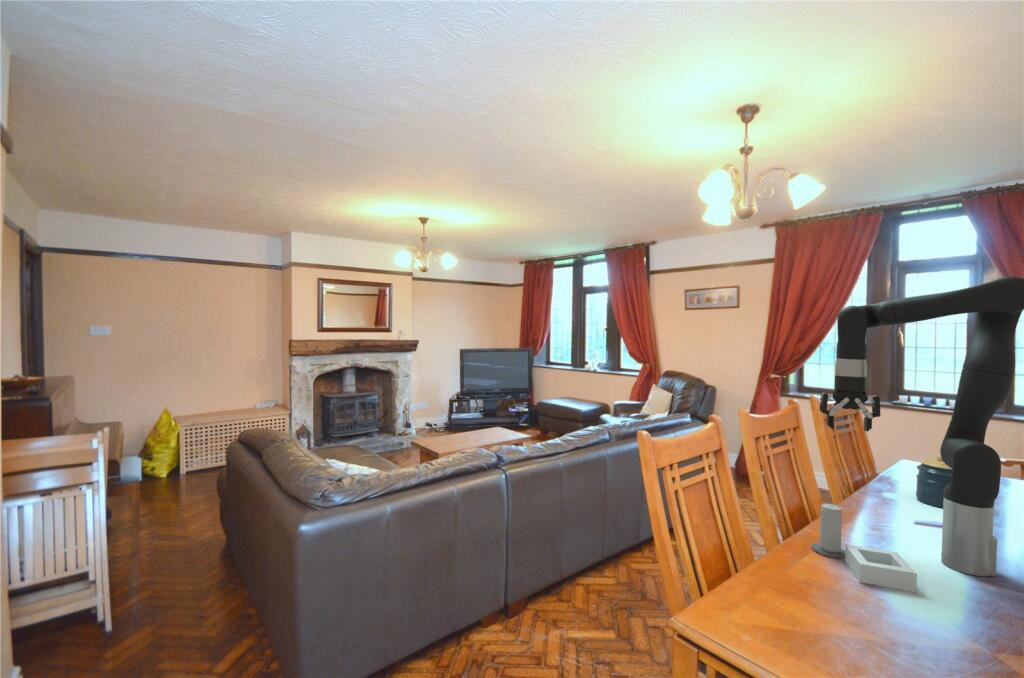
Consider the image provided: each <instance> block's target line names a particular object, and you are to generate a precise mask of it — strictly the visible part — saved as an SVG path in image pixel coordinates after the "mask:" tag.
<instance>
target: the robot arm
mask: <svg viewBox="0 0 1024 678" xmlns="http://www.w3.org/2000/svg"><path fill="white" fill-rule="evenodd" d="M1023 311H1024V278H1023V277H1021V276H1011V275H1009V276H1003V277H999V278H997V279H994V280H991V281H989V282H985V283H982V284H981V283H980V284H977V285H973V286H970V287H966V288H962V289H956V290H951V291H945V292H937V293H931V294H923V295H917V296H916V295H915V296H908V297H902V298H895V299H889V300H884V301H881V302H878V303H872V304H871V303H869V304H863V305H849V306H845V307H843V308H842V309H841V310H840V311H839V312H838V315H837V318H836V319H837V321H836V323H837V343H836V351H835V352H836V356H835V357H836V359H835V363H834V364H835V365H834V383H833V385H834V386H833V387H834V389H833V393H827V392H821V394H820V402H819V412H821V413H822V414H825V415H826V424H827V427H828V428H830V429H831V430H835V416H834V415H835V414H837V412H838V411H840V410H841V409H842V410H843V409H844V410H856V411H857V410H859V411H860V412H861V413H862V415H863V431H865V432H870V430H872V429H873V419H874V418H879V417H881V414H882V413H881V398H880V396H878V395H875V394H873V395H867V380H868V378H867V377H868V376H867V375H868V366H867V343H866V339H867V330H868V329H869V328H874V327H880V326H881V327H882V326H895V325H902V324H909V323H916V322H923V321H929V320H933V319H938V318H944V317H948V316H955V315H961V314H962V315H963V314H971V313H976V316H975V317H976V318H975V327H974V331H973V334H972V337H971V339H970V340H971V341H970V343H969V346H968V349H967V352H966V356H965V358H964V361H963V364H962V368H961V371H960V373H961V374H960V377H959V381H958V382H959V383H958V388H957V393H956V395H955V396H956V397H955V400H954V405H953V412H952V415H951V418H950V421H949V425H948V427H947V430H946V433H945V435H944V437H943V440H942V442H941V445H940V449H939V452H940V453H939V454H940V455H941V458H942V460H943V462H944V463H945V464H946V465H947V466H948V467H950V468H952V480H951V484H950V485H947V486H946V487H945V488H944V502H943V508H942V510H943V511H942V528H941V529H942V531H941V532H942V533H941V534H942V535H941V552H940V553H941V554H940V555H941V556H940V557H941V563H942V564H943V565H945V566H946V567H948V568H950V569H953V570H955V571H958V572H960V573H964V574H968V575H972V576H978V577H991V576H992V577H997V559H998V558H997V557H998V555H997V554H998V538H997V537H996V536H994V535H993V533H994V512H995V501H996V500H997V498H998V497H999V494H1000V486H1001V475H1002V461H1001V458H1000V456H999V453H998V452H997V451H996V450H995V449H994V448H993V447H992V446H989V445H987V444H985V439H986V434H987V429H988V426H989V423H990V421H991V419H992V418H993V416H994V415H995V413H997V411H998V409H1000V408H1001V406H1002V405H1003V404H1004V402H1005V401H1006V400H1007V398H1008V397H1009V394H1010V391H1011V388H1012V387H1011V386H1012V383H1013V379H1014V375H1015V370H1016V356H1015V355H1016V352H1015V334H1016V329H1017V325H1018V324H1019V320H1020V317H1021V316H1022V313H1023ZM831 399H832V400H833V401H834V403H833V404H832V405H831V407H830V408H829V409H828V402H829V401H831ZM867 401H869V403H870V404H871V411H869V409H868V408H867V407H866V406H865V403H866V402H867Z"/></svg>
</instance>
